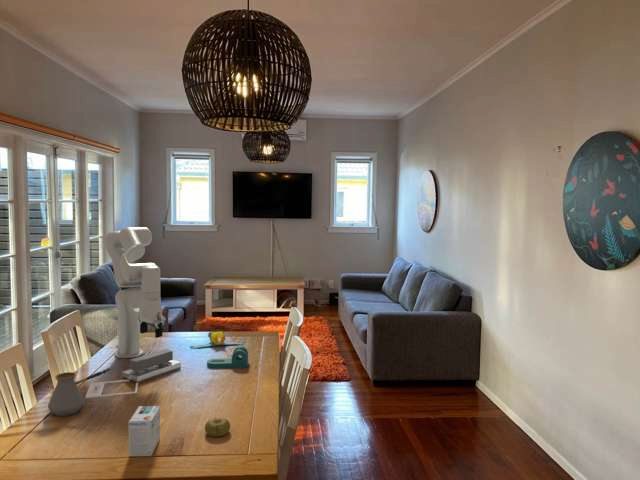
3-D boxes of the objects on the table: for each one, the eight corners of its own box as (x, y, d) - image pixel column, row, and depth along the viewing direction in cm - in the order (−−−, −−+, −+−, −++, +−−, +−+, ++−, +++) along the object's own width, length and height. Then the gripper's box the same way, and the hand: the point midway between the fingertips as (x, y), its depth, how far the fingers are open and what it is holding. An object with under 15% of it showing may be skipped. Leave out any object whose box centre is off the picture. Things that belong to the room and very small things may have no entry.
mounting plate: (122, 378, 202) (122, 371, 202) (165, 364, 221) (165, 357, 220) (137, 384, 197) (137, 376, 197) (180, 368, 215) (180, 362, 215)
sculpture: (215, 429, 151) (199, 421, 156) (215, 441, 151) (199, 433, 156) (235, 420, 157) (219, 413, 162) (235, 432, 157) (219, 425, 163)
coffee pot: (41, 419, 165) (40, 375, 164) (56, 404, 176) (55, 364, 175) (107, 417, 167) (106, 374, 166) (118, 403, 179) (117, 363, 177)
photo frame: (90, 382, 196) (138, 378, 202) (90, 385, 196) (138, 380, 202) (85, 396, 182) (136, 391, 188) (85, 399, 182) (136, 394, 188)
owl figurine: (190, 334, 239) (187, 327, 253) (191, 352, 240) (188, 344, 254) (247, 330, 249) (241, 323, 263) (247, 347, 249) (241, 339, 264)
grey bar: (130, 376, 203) (130, 359, 202) (165, 364, 217) (165, 349, 217) (137, 378, 200) (136, 361, 199) (172, 366, 215) (172, 350, 214)
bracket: (248, 363, 225) (248, 346, 224) (247, 368, 218) (247, 350, 217) (208, 363, 223) (208, 346, 222) (206, 368, 216) (205, 351, 216)
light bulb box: (138, 439, 152) (138, 405, 151) (160, 438, 153) (160, 405, 152) (128, 457, 142) (127, 421, 141) (152, 456, 142) (151, 420, 141)
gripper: (130, 293, 208) (131, 333, 209) (157, 299, 198) (157, 340, 200) (145, 291, 214) (145, 329, 216) (171, 296, 204) (172, 336, 206)
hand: (151, 334), depth 208 cm, fingers open, 9 cm apart
